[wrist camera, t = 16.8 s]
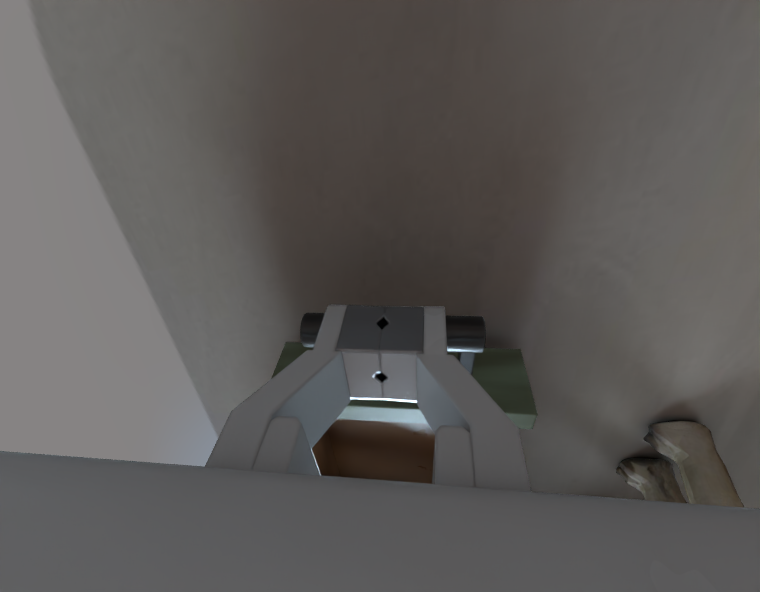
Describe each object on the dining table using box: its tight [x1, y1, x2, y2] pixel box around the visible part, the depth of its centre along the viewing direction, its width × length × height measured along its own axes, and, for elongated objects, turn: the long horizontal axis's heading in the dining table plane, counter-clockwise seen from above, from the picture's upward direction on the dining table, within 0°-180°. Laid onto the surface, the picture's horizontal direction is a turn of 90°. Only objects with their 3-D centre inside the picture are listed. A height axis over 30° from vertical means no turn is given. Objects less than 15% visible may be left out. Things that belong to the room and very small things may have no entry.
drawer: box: [271, 313, 538, 484], centre depth 21 cm, size 19×12×4 cm, turn 4°
